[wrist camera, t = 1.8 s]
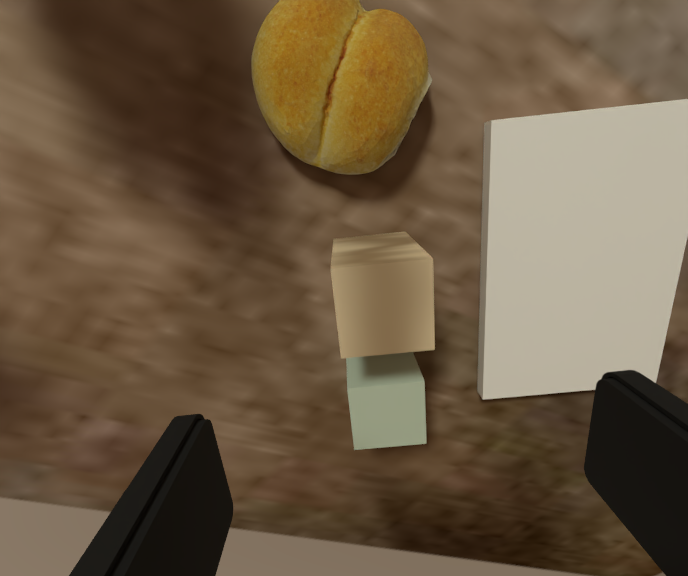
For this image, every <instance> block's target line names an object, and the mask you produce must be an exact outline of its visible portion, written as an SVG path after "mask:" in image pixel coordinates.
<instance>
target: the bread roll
mask: <svg viewBox="0 0 688 576" xmlns="http://www.w3.org/2000/svg"><path fill="white" fill-rule="evenodd" d="M251 67H252V80H253V87H254V91H255V95H256V99H257V102H258V105H259V108H260V110H261V112H262V115H263V117H264V119H265V121H266V123H267V124H268V126H269V128H270V130H271V131H272V133H273V134H274V135H275V137H276V138H277V139H278V140H279V142H281V144H282V145H283V146H284V147H285V148H286V149H287V150H288V151H289V152H290V153H291V154H292V155H294V156H295V157H297V158H298V159H300V160H301V161H303V162H305V163H307V164H310V165H313V166H316V167H319V168H322V169H324V170H327V171H331V172H334V173H338V174H348V175H356V174H364V173H369V172H372V171H375V170H376V169H378V168H379V167H381V166H382V165H383V164H384V163H385V162H387V161H388V160H389V159H390V158H392V157H393V156H395V154H396V152H397V150H398V148H399V146H400V144H401V142H402V140H403V138H404V136H405V135H406V133H407V132H408V129H409V127H410V123H411V122H412V119H414V117H415V115H416V112H417V110H418V107H419V105H420V103H421V101H422V100H423V98H424V96H425V94H426V92H427V90H428V88H429V86H430V84H431V82H432V78H431V76H430V74H429V71H428V59H427V52H426V48H425V44H424V42H423V40H422V38H421V36H420V35H419V33H418V32H417V31H416V29H415V28H414V26H413V25H412V24H411V23H410V22H409V21H408V20H407V19H406V18H404V17H403V16H402V15H400V14H398V13H395V12H392V11H389V10H386V9H376V10H373V11H369V12H368V11H366V10H364V9H363V8H362V6H361V4H360V2H359V0H280V1H279V2H278V3H277V4H276V5H275V6H274V8H273V9H272V10H271V11H270V12H269V14H268V15H267V17H266V18H265V20H264V21H263V24H262V26H261V28H260V30H259V32H258V34H257V37H256V41H255V44H254V48H253V52H252V58H251Z"/></svg>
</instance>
